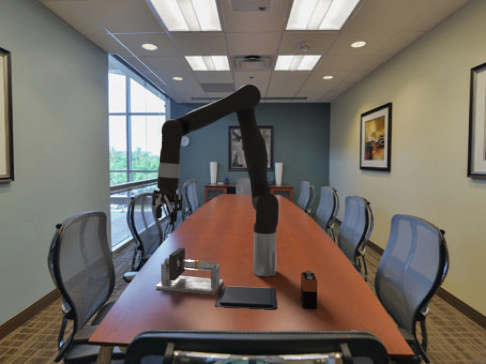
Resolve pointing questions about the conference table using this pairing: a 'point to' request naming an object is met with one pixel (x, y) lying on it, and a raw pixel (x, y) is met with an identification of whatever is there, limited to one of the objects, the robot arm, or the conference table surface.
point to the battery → (308, 290)
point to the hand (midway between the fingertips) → (165, 220)
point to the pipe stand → (188, 282)
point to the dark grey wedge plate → (173, 257)
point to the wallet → (247, 297)
